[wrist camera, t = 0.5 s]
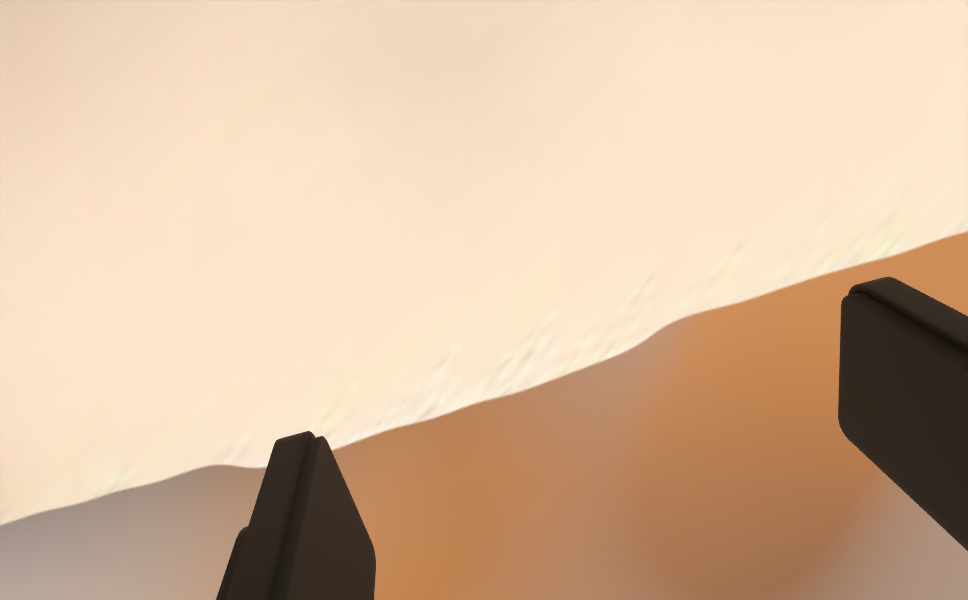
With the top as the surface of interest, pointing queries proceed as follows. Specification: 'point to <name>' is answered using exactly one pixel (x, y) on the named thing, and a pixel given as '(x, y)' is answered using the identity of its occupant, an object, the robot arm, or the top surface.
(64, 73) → the top surface
